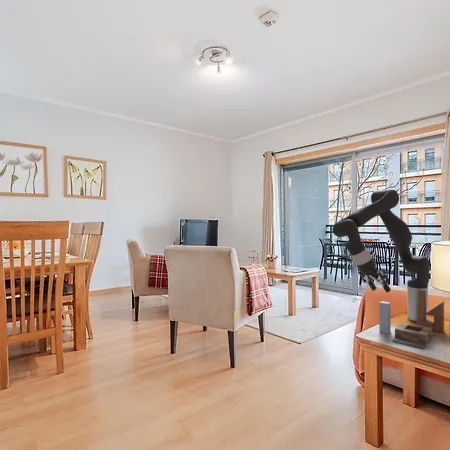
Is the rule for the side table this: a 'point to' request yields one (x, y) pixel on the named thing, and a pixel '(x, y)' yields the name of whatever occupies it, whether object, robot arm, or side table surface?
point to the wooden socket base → (413, 335)
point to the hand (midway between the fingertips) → (381, 290)
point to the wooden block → (436, 312)
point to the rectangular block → (384, 317)
